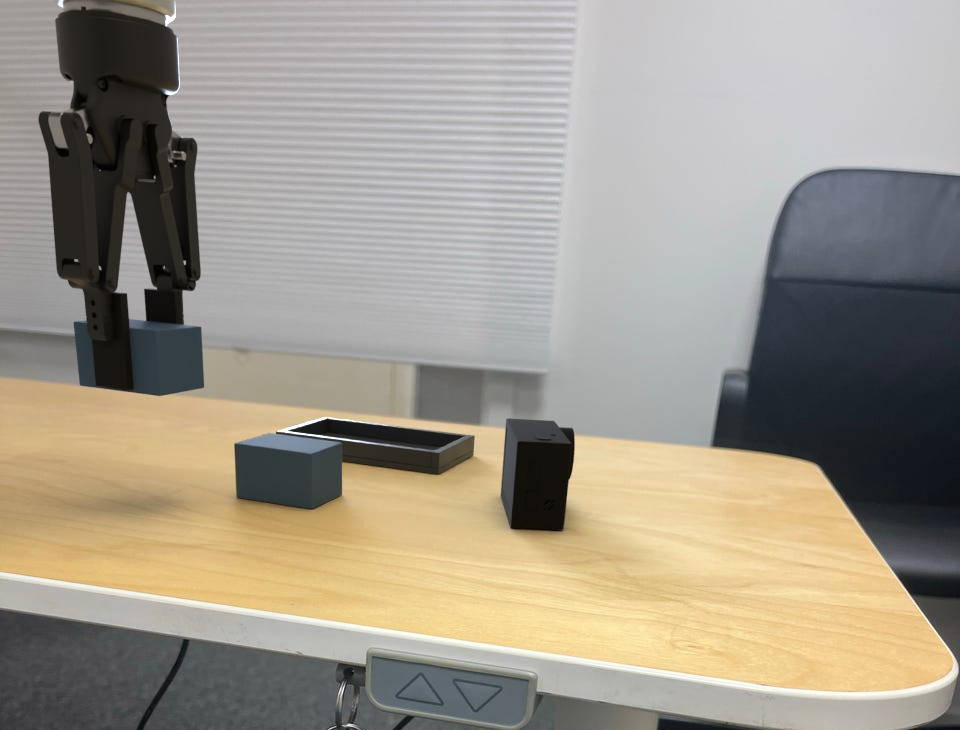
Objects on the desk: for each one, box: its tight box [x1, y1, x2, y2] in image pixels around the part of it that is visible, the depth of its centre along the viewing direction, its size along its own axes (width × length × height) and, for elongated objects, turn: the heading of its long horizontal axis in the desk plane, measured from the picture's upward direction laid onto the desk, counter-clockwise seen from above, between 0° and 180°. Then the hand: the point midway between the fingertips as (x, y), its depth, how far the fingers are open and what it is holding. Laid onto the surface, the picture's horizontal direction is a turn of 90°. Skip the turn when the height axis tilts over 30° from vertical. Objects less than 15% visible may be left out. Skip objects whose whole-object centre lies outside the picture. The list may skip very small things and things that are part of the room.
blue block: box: [73, 318, 205, 397], centre depth 68 cm, size 7×6×4 cm
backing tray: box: [275, 416, 476, 475], centre depth 95 cm, size 18×11×2 cm, turn 72°
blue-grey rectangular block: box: [233, 432, 343, 510], centre depth 77 cm, size 7×6×4 cm
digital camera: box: [500, 417, 576, 531], centre depth 76 cm, size 10×5×7 cm, turn 3°
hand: (142, 382), depth 69 cm, fingers closed on blue block, 5 cm apart
